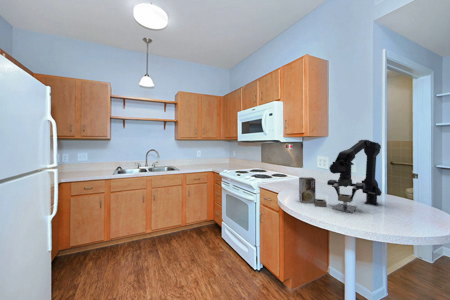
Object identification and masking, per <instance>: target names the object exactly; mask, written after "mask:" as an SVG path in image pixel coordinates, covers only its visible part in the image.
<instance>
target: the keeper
mask: <svg viewBox="0 0 450 300" xmlns="http://www.w3.org/2000/svg"><path fill="white" fill-rule="evenodd" d="M357 209H358V206H357V205H351V204H348V202H343V201H342V203H341V202H339V203H337V204H336V205H334V206H333V208H332V210H334V211H335V210H336V211H340V212H343V213H350V214H353V213H354V212H355V211H356V210H357Z"/></svg>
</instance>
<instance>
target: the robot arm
mask: <svg viewBox="0 0 450 300" xmlns="http://www.w3.org/2000/svg"><path fill="white" fill-rule="evenodd" d="M381 149H382V145H381V144H380V143H379V142H376V141H372V140H369V139H360V140H358V141H357V143H355V144H354V145H352V146H351V147H350V148H348V149H344V150H341V151H340V152H338V154H337V157H336V158H335V159H334V160H335V161H332V163H331V164H330V165H329V171H330V173H332V174H339V177H338V179H329V180H327V182H326V184H327V186H331V187H332V188H333V189H334V190H335V191H336V194H337V196H338V195H340V194H341V193H340V191H341V190H340V189H341V187H344V188H347V187H352V188H351V189H352V190H351V195H352V196H351V199H354V198H355V197H354V196H355V195H356V193H357V191H359V190H361V191H362V193H363V194H365V201H364V204H367V205H373V206H378V205H379V202H378V197H380V196H381V195H382V192H383V191H382V190H381V189H380V188H379V183H378V181H377V180H376V169H377V167H376V166H377V157H378V155H379V154H380V152H381ZM362 150H363V152H364V154H365V156H366V164H365V177H364V179H363V180H361V182H356V183H354V182H353V179H352V166H354V165H355V164H354V163H353V162H352V161H354V159H356V155H357V154H359V153H360V152H361V151H362Z"/></svg>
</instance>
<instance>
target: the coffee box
mask: <svg viewBox="0 0 450 300" xmlns="http://www.w3.org/2000/svg"><path fill="white" fill-rule="evenodd" d="M314 199H316V178H314V177H310V176H309V177H308V176H307V177H306V176H304V177H298V200H300V201H299V202H300V203H301V204H314Z"/></svg>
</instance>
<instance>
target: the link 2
mask: <svg viewBox="0 0 450 300" xmlns="http://www.w3.org/2000/svg"><path fill="white" fill-rule="evenodd" d="M351 196H352V194H345V193H340V195H337V202H338V201H339V202H342V203H343V202H347V203H351V202H353V199H354V198H353V199H351Z"/></svg>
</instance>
